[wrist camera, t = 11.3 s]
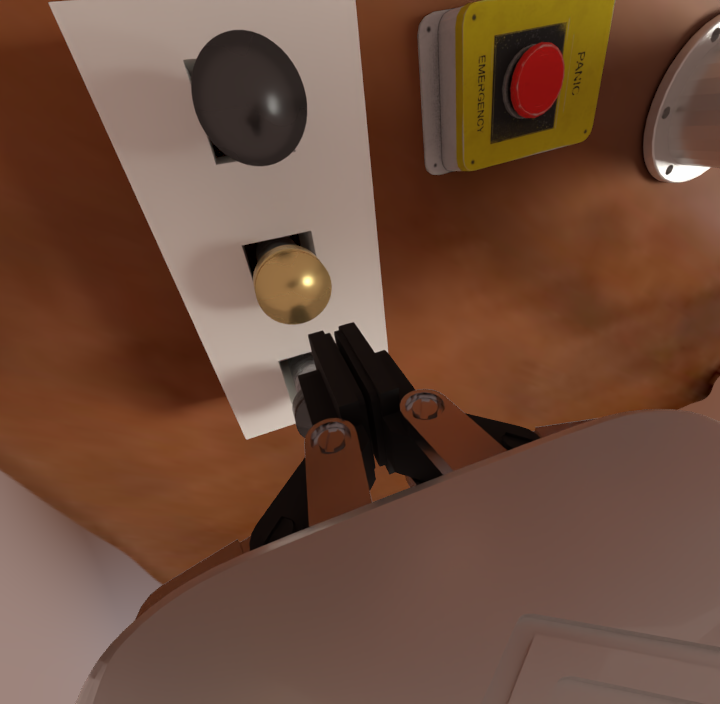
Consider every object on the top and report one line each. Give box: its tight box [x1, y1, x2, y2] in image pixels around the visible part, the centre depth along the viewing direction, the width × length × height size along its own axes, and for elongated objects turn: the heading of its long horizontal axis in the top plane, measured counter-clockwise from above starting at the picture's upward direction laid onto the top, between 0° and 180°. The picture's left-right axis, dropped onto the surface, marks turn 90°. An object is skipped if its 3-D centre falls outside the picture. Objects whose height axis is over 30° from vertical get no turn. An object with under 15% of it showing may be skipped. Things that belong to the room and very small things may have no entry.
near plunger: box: [191, 30, 307, 166], centre depth 15 cm, size 4×4×7 cm
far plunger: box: [288, 352, 316, 438], centre depth 24 cm, size 4×4×7 cm
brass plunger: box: [253, 236, 332, 325], centre depth 21 cm, size 4×4×7 cm
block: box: [48, 0, 388, 440], centre depth 23 cm, size 12×24×6 cm, turn 7°
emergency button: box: [417, 0, 615, 175], centre depth 24 cm, size 9×4×15 cm
